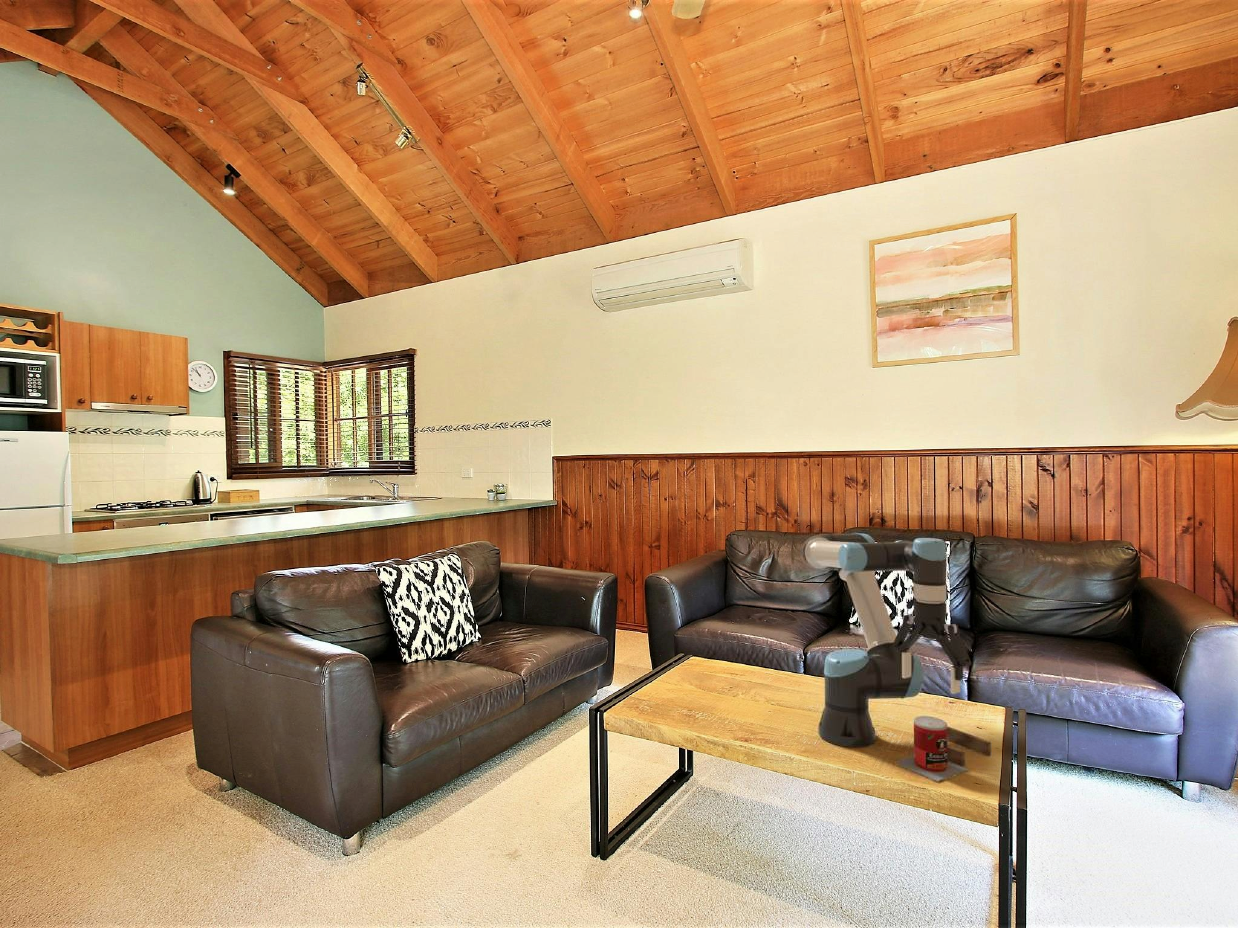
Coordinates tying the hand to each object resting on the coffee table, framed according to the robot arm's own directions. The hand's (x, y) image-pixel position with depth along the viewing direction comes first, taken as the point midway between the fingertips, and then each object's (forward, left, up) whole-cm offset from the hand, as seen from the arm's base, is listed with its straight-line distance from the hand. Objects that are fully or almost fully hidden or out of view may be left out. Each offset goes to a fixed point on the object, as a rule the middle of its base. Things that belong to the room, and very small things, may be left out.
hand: (930, 684), depth 170 cm
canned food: (0, 0, -20) cm, 20 cm away
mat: (0, 0, -21) cm, 21 cm away
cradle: (-2, +13, -21) cm, 24 cm away
